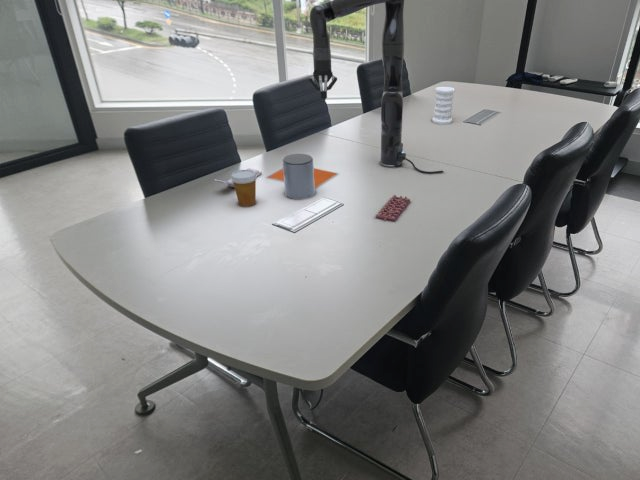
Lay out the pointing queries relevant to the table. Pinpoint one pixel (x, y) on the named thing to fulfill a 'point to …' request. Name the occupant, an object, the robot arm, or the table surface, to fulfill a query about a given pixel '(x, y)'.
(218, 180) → the grey white handled utensil
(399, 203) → the red flat knobbed bar
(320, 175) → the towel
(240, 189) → the disposable coffee cup
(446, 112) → the decorative container
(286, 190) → the crock
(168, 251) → the table surface
